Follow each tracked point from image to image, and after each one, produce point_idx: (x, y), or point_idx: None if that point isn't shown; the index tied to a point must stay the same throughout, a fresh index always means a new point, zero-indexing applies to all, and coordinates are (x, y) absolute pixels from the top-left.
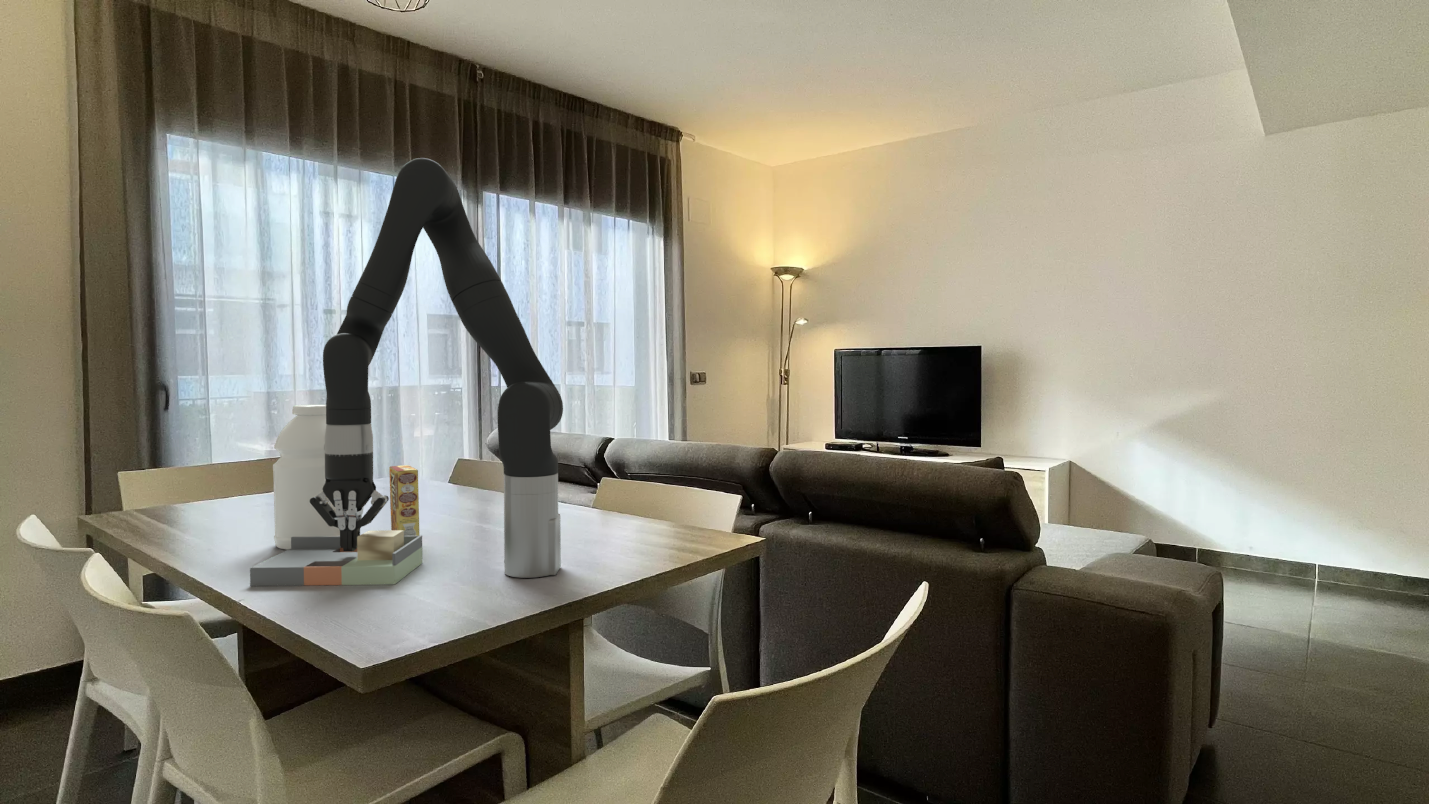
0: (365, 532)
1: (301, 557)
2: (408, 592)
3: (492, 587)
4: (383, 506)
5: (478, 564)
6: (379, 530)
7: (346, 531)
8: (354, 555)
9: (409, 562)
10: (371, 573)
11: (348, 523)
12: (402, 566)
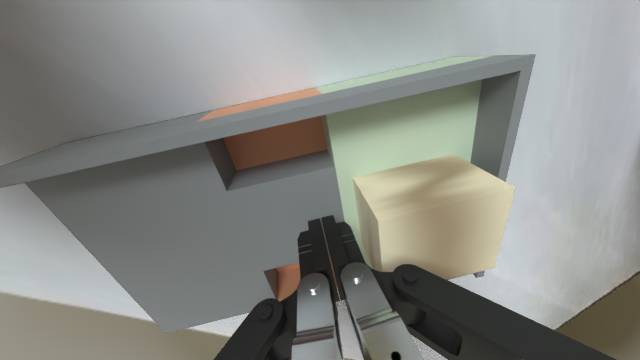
0: (380, 247)
1: (193, 253)
2: None
3: (600, 210)
4: (546, 328)
5: (606, 47)
6: (420, 211)
7: (336, 298)
8: (325, 208)
9: None
10: None
11: (334, 307)
12: None
